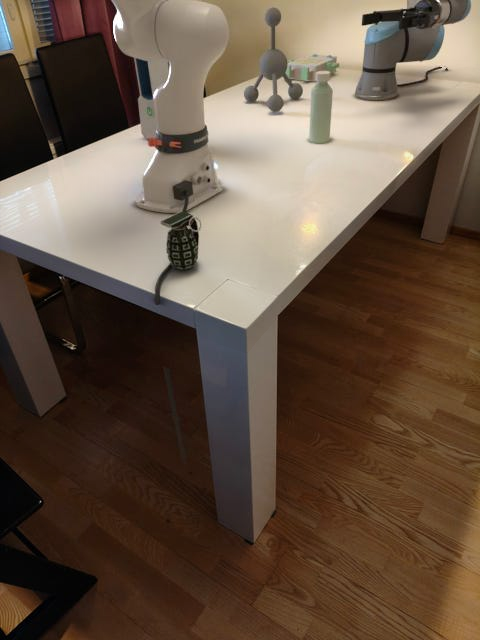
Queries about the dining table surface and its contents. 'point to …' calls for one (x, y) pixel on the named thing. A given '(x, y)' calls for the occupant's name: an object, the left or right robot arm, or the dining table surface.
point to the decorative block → (310, 67)
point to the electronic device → (149, 92)
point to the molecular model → (273, 68)
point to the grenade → (182, 240)
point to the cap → (322, 76)
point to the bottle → (320, 112)
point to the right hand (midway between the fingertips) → (380, 21)
